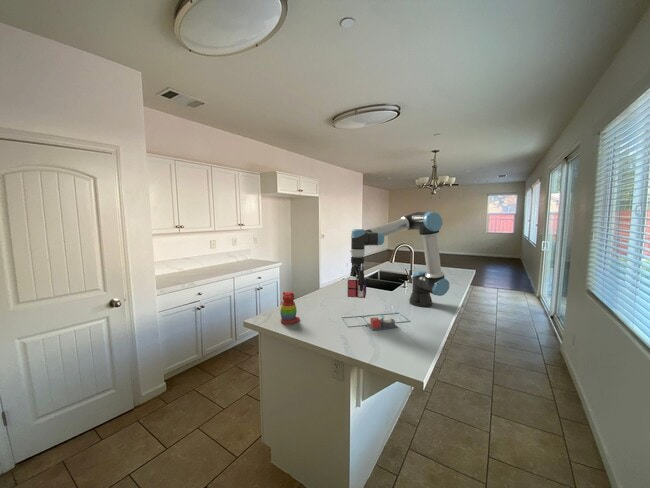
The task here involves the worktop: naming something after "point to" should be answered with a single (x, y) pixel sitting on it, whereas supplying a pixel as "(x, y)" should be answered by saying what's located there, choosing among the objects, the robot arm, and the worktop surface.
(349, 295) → the puzzle cube
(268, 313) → the worktop surface
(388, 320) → the plunger
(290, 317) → the stacking bear
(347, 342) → the worktop surface
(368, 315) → the track
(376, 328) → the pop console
